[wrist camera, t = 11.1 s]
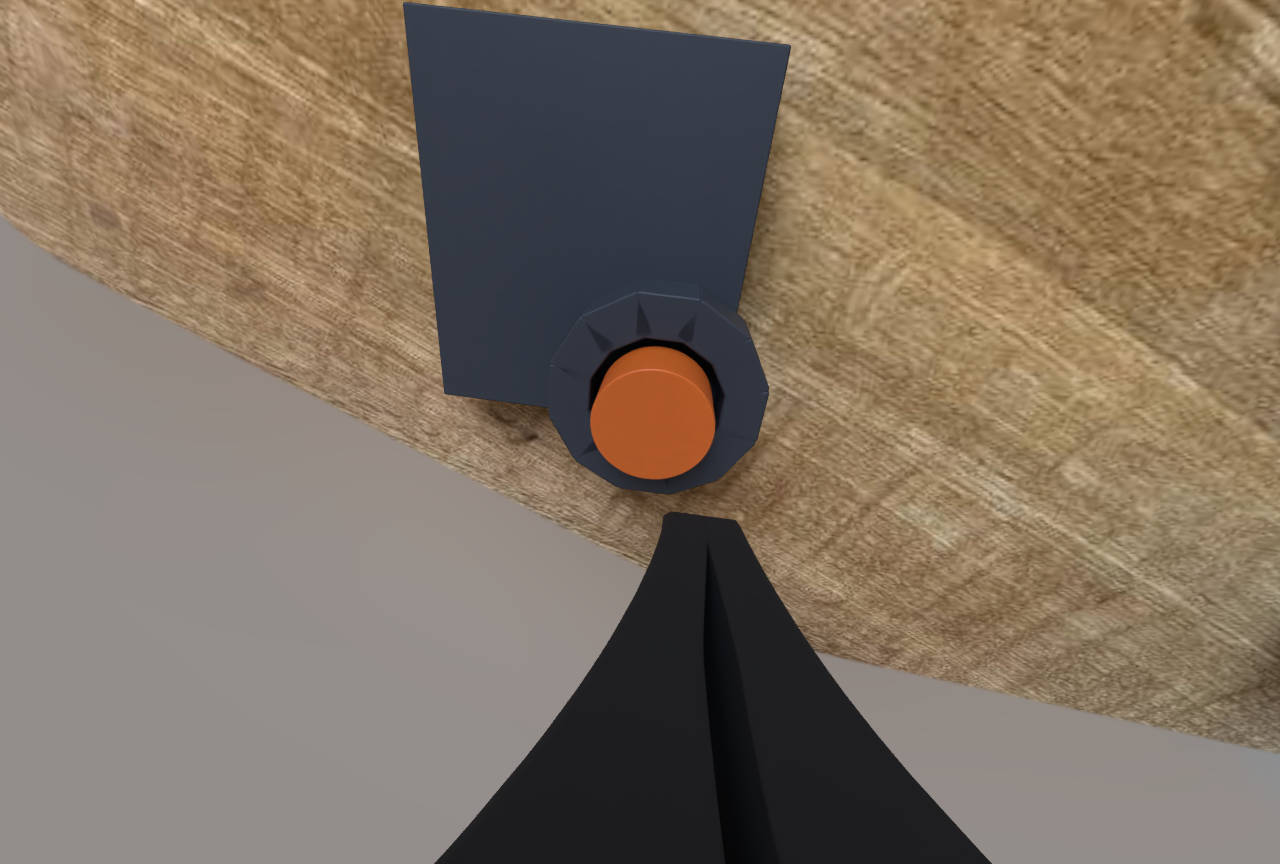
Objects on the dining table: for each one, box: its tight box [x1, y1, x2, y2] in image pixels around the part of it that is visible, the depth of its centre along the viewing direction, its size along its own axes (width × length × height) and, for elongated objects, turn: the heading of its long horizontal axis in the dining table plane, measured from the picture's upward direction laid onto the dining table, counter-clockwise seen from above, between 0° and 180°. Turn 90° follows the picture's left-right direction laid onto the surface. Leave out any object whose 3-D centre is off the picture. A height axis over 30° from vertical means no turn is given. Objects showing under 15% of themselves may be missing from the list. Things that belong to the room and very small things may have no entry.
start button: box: [590, 346, 715, 479], centre depth 13 cm, size 3×3×2 cm
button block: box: [403, 2, 791, 495], centre depth 14 cm, size 12×10×4 cm
